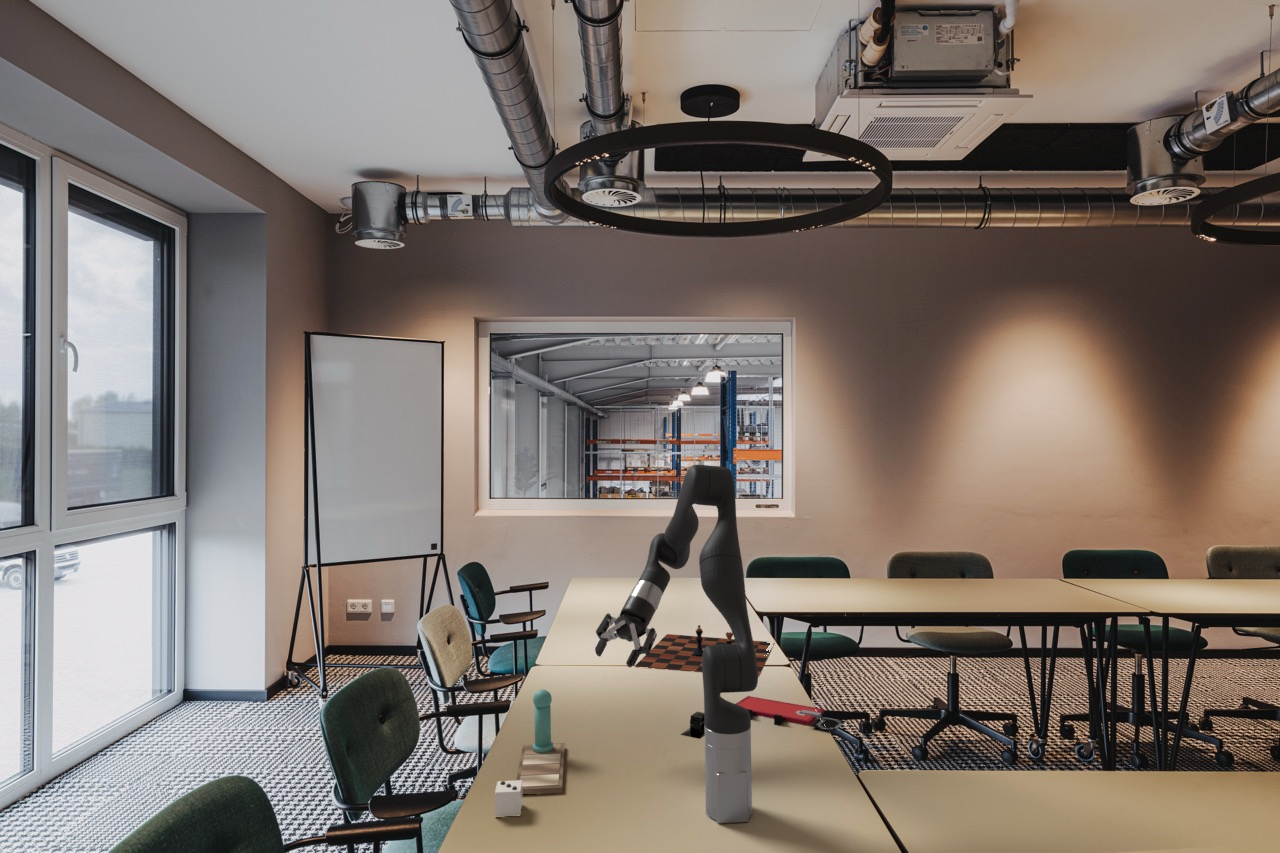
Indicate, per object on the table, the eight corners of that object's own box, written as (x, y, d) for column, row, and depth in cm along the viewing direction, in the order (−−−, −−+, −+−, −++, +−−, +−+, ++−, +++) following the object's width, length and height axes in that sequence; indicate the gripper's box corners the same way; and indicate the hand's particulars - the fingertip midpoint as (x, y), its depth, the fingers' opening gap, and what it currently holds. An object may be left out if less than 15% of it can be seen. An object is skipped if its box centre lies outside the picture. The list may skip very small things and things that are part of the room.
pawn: (552, 752, 182) (552, 692, 182) (532, 753, 182) (531, 693, 182) (553, 744, 187) (552, 686, 187) (533, 745, 187) (532, 687, 187)
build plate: (699, 744, 191) (699, 725, 191) (673, 738, 195) (673, 719, 195) (722, 727, 202) (721, 709, 202) (697, 721, 205) (697, 704, 205)
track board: (562, 793, 165) (562, 786, 165) (514, 795, 164) (514, 788, 164) (564, 748, 188) (564, 742, 188) (523, 749, 187) (522, 744, 187)
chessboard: (635, 668, 252) (635, 634, 252) (667, 636, 290) (666, 607, 291) (758, 679, 241) (758, 644, 241) (774, 645, 279) (774, 614, 279)
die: (520, 816, 155) (520, 788, 155) (495, 817, 155) (494, 790, 155) (522, 804, 160) (522, 777, 160) (497, 805, 160) (497, 778, 160)
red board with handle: (832, 737, 193) (851, 719, 205) (832, 725, 193) (851, 708, 205) (724, 716, 209) (748, 700, 222) (723, 705, 209) (747, 691, 222)
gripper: (614, 587, 194) (583, 643, 185) (664, 603, 188) (635, 661, 179) (621, 603, 199) (591, 658, 190) (670, 619, 193) (642, 677, 184)
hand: (612, 660), depth 184 cm, fingers open, 8 cm apart
